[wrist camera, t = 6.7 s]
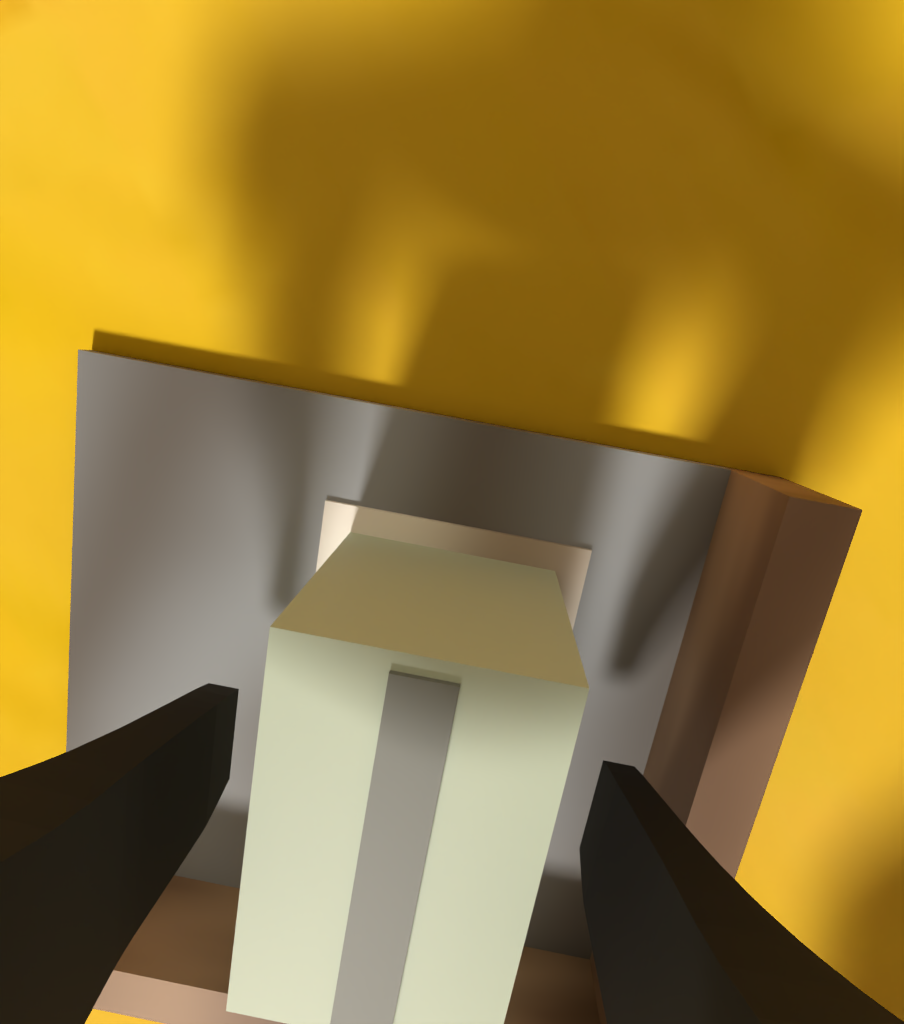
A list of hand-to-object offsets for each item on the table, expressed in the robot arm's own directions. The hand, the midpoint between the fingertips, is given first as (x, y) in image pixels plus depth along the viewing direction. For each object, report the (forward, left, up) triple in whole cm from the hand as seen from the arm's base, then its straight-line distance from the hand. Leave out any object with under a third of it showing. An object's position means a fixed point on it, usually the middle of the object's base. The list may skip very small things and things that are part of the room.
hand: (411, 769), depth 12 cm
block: (0, 0, -2) cm, 2 cm away
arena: (+1, 0, -3) cm, 3 cm away
